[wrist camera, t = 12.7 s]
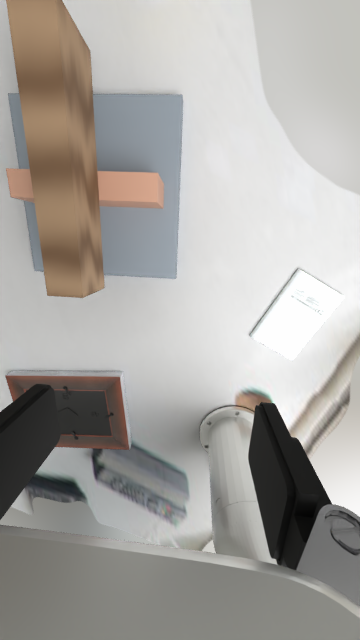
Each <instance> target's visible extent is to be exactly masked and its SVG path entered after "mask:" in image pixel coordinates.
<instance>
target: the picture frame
mask: <svg viewBox="0 0 360 640" xmlns="http://www.w3.org/2000/svg"><path fill="white" fill-rule="evenodd" d="M5 376H6V379H7V383H8V386H9V389H10V392H11V396H12V399H13V402H14V401H15V400H16V399H17V398H19V397H20V396H21V395H22V394H24V393H25V392H26V391H27V390H29V389H30V388H31V387H32V386H34V385H35V384H48V385H50V386H51V388H53V389H54V392H55V399H56V406H57V414H58V421H59V428H60V439H59V442H58V443H57V445H56V446H55V447H75V448H99V449H124V450H130V447H131V444H132V439H131V431H130V423H129V415H128V407H127V399H126V391H125V383H124V375H123V372H115V371H11V372H10V373H8V374H7V375H5Z"/></svg>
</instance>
